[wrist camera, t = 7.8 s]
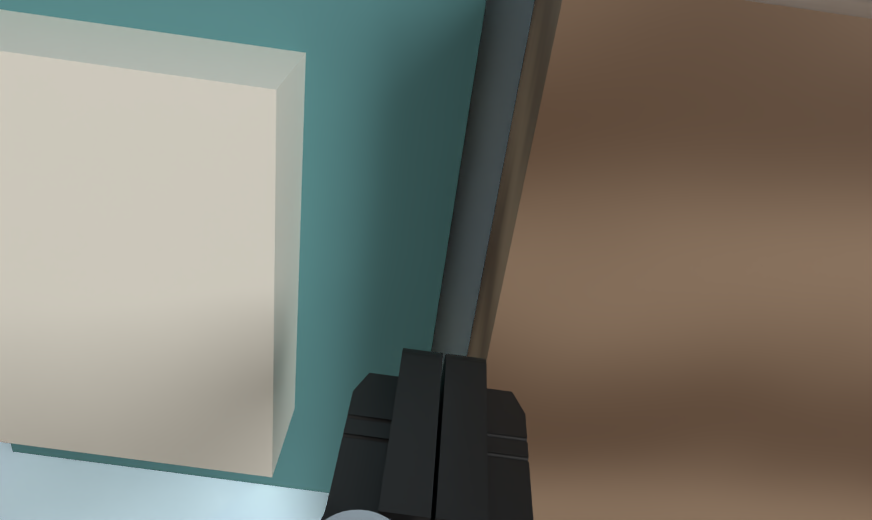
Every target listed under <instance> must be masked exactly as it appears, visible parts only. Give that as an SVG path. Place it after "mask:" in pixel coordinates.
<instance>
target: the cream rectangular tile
mask: <svg viewBox="0 0 872 520" xmlns="http://www.w3.org/2000/svg"><path fill="white" fill-rule="evenodd" d="M305 64H306V53H304V52H297V51H290V50H283V49H276V48H269V47H262V46H255V45H248V44H240V43H233V42H226V41H219V40H212V39H205V38H198V37H191V36H184V35H177V34H170V33H163V32H156V31H149V30H142V29H135V28H128V27H121V26H113V25H106V24H99V23H92V22H85V21H78V20H71V19H64V18H57V17H50V16H43V15H36V14H29V13H22V12H15V11H8V10H1V9H0V442H5V443H13V444H20V445H28V446H36V447H43V448H51V449H59V450H66V451H74V452H82V453H89V454H97V455H105V456H112V457H120V458H128V459H135V460H143V461H151V462H158V463H166V464H174V465H181V466H189V467H197V468H204V469H212V470H220V471H227V472H235V473H243V474H250V475H258V476H266V477H272V476H273V473H274V470H275V467H276V464H277V461H278V458H279V455H280V452H281V449H282V446H283V443H284V439H285V436H286V433H287V430H288V427H289V424H290V421H291V418H292V415H293V412H294V409H295V378H296V347H297V316H298V284H299V253H300V221H301V190H302V159H303V127H304V96H305Z"/></svg>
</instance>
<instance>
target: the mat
mask: <svg viewBox="0 0 872 520" xmlns="http://www.w3.org/2000/svg"><path fill="white" fill-rule="evenodd" d="M485 5H486V0H0V9H1V10H8V11H15V12H22V13H29V14H36V15H43V16H50V17H57V18H64V19H71V20H78V21H85V22H92V23H99V24H106V25H113V26H121V27H128V28H135V29H142V30H149V31H156V32H163V33H170V34H177V35H184V36H191V37H198V38H205V39H212V40H219V41H226V42H233V43H240V44H248V45H255V46H262V47H269V48H276V49H283V50H290V51H297V52H304V53H306V64H305V96H304V127H303V159H302V190H301V221H300V253H299V284H298V316H297V347H296V378H295V409H294V412H293V415H292V418H291V421H290V424H289V427H288V430H287V433H286V436H285V439H284V443H283V446H282V449H281V452H280V455H279V458H278V461H277V464H276V467H275V470H274V473H273V476H272V477H266V476H258V475H250V474H243V473H235V472H227V471H220V470H212V469H204V468H197V467H189V466H181V465H174V464H166V463H158V462H151V461H143V460H135V459H128V458H120V457H112V456H105V455H97V454H89V453H82V452H74V451H66V450H59V449H51V448H43V447H36V446H28V445H20V444H13V443H11V446H12V450H13V452H21V453H28V454H36V455H43V456H51V457H59V458H66V459H74V460H82V461H89V462H97V463H105V464H112V465H120V466H127V467H135V468H143V469H150V470H158V471H166V472H173V473H181V474H189V475H196V476H204V477H211V478H219V479H227V480H234V481H242V482H250V483H257V484H265V485H273V486H280V487H288V488H295V489H303V490H311V491H318V492H326V493H330V489H331V484H332V480H333V475H334V471H335V467H336V462H337V458H338V454H339V449H340V445H341V441H342V438H343V432H344V428H345V423H346V419H347V415H348V410H349V406H350V401H351V397H352V393H353V390H354V389H355V388H356V387H357V386H358V385H359V384H360V382H361V381H362V380H363V379H364V378H365V377H366V376H367V375H368V374H369V373H376V374H383V375H391V376H399V370H400V363H401V357H402V350H403V348H408V349H415V350H423V351H430V352H431V348H432V342H433V335H434V329H435V323H436V316H437V310H438V304H439V297H440V291H441V285H442V278H443V272H444V266H445V259H446V253H447V246H448V240H449V234H450V227H451V221H452V215H453V208H454V202H455V196H456V189H457V183H458V177H459V170H460V164H461V158H462V151H463V145H464V138H465V132H466V126H467V119H468V113H469V107H470V100H471V94H472V88H473V81H474V75H475V69H476V62H477V56H478V50H479V43H480V37H481V31H482V24H483V18H484V11H485Z"/></svg>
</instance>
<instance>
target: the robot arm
mask: <svg viewBox="0 0 872 520" xmlns="http://www.w3.org/2000/svg"><path fill="white" fill-rule="evenodd" d="M442 358H443V353H437V352H430V351H423V350H415V349H408V348H403V350H402V357H401V363H400V370H399V376H391V375H383V374H376V373H369V374H368V375H367V376H366V377H365V378H364V379H363V380H362V381H361V382H360V384H359V385H358V386H357V387H356V388H355V389H354V390H353V393H352V397H351V401H350V406H349V410H348V415H347V419H346V423H345V428H344V432H343V438H342V441H341V445H340V449H339V454H338V458H337V462H336V467H335V471H334V475H333V480H332V484H331V489H330V493H329V497H328V502H327V506H326V509H325V512H324V515H323V517H322V519H321V520H533V507H532V494H531V481H530V468H529V462H528V458H529V455H528V442H527V428H526V415H525V412H524V411H523V409H522V407H521V406H520V404H519V402H518V401H517V399H516V397H515V396H514V394H513V392H511V391H504V390H496V389H489V388H487V364H486V359H483V358H476V357H468V356H461V355H453V354H446V355H445V359H444V364H443V370H442ZM441 372H442V376H441Z"/></svg>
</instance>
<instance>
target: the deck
mask: <svg viewBox="0 0 872 520" xmlns="http://www.w3.org/2000/svg"><path fill="white" fill-rule="evenodd" d="M467 356H468V357H476V358H483V359H486V364H487V388H489V389H496V390H504V391H511V392H513V394H514V396H515V397H516V399H517V401H518V402H519V404H520V406H521V407H522V409H523V411H524V412H525V415H526V428H527V442H528V455H529V458H528V462H529V468H530V481H531V494H532V507H533V520H872V0H535V2H534V8H533V13H532V18H531V23H530V29H529V34H528V39H527V44H526V49H525V55H524V60H523V65H522V70H521V76H520V81H519V86H518V91H517V96H516V102H515V107H514V112H513V117H512V123H511V128H510V133H509V138H508V143H507V149H506V154H505V159H504V164H503V170H502V175H501V180H500V185H499V191H498V196H497V201H496V206H495V211H494V217H493V222H492V227H491V232H490V238H489V243H488V248H487V253H486V258H485V264H484V269H483V274H482V279H481V285H480V290H479V295H478V300H477V306H476V311H475V316H474V321H473V326H472V332H471V337H470V342H469V347H468V353H467Z"/></svg>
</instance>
